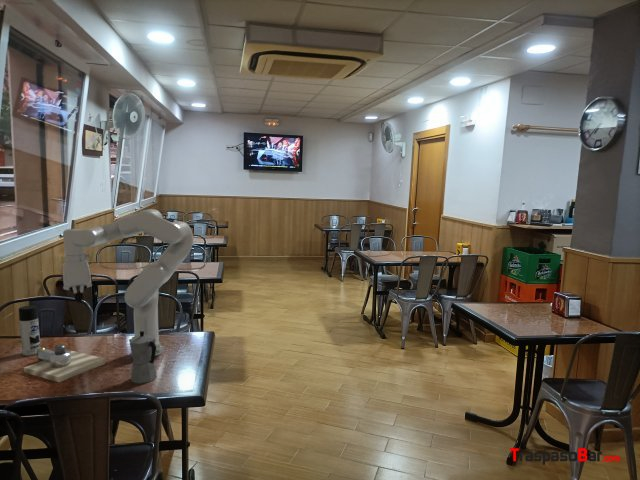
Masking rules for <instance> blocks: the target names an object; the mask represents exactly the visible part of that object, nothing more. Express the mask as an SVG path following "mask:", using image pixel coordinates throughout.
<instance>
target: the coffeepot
mask: <svg viewBox="0 0 640 480" xmlns="http://www.w3.org/2000/svg"><path fill="white" fill-rule="evenodd" d="M128 342H129V346H130V351H131V357H132V359H133V362H132V367H131V368H132V369H131V377H130V380H131V382H132V383H134V384H148V383H150V382H153V381H154V380H156V379H157V372H156V367H155V363H154V362H155V357H156V356H155V353H156V345H155V337H154V336H149V335H144V331H141V332H140V336H135V335H134V336H131V338H129V339H128Z"/></svg>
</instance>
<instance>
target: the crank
mask: <svg viewBox="0 0 640 480" xmlns="http://www.w3.org/2000/svg"><path fill="white" fill-rule="evenodd" d="M44 347H45V346H43V347H40V348H39V349H38V356H37V359H38V358H40V359H44V360H47V361H50V366H52V367H61V366H66V365H68V364H70V363H71V352H70V351H71V350H69V349H68V350H66V345H65V344H62V343H61V344H57V345H54V346H53V347H54V350H51V349H48V348H47V349H45V348H46V347H45V348H44Z"/></svg>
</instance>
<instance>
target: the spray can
mask: <svg viewBox="0 0 640 480" xmlns="http://www.w3.org/2000/svg"><path fill="white" fill-rule="evenodd" d="M18 315H19V316H18V317H19V318H18V319H19V328H20V329H19V330H20V341H21V342H20V343H21V352H22V353H21V354H22V355H23V356H28V357H29V356H34V355H37V349H39V348H41V339H40V327H39V325H40V324H39V315H38V306H37V305H26V306H22V307H21V306H20V307H19V308H18Z"/></svg>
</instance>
